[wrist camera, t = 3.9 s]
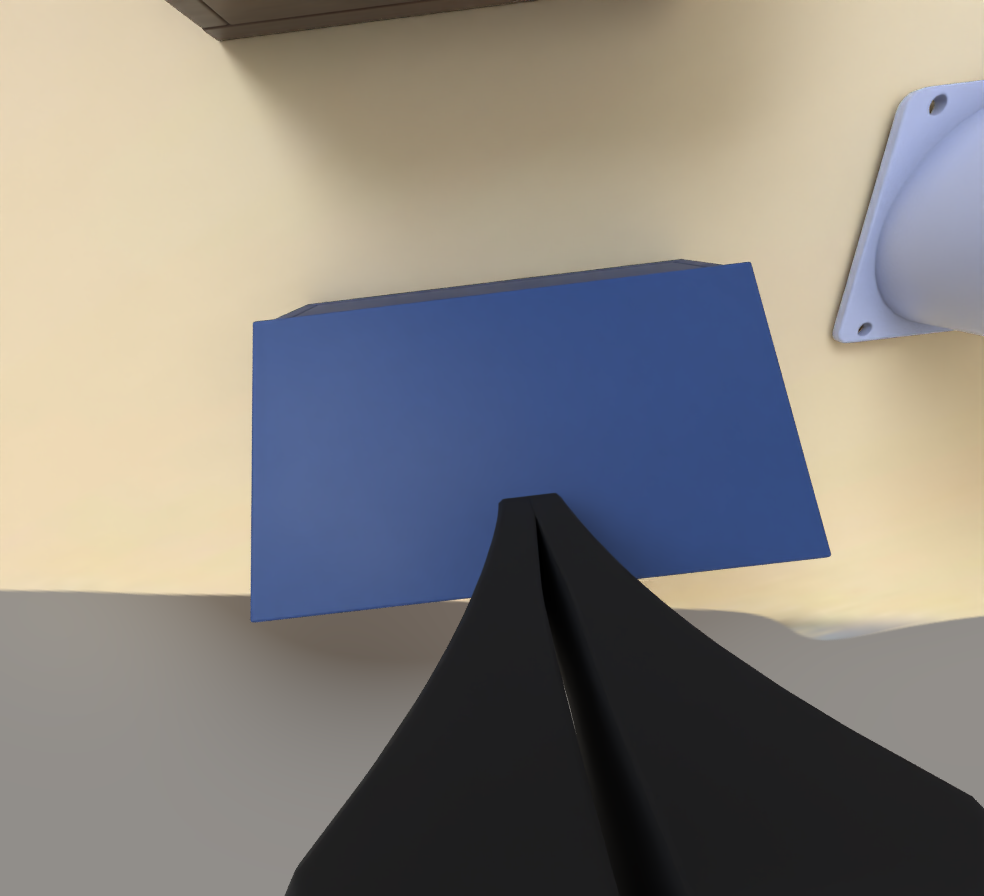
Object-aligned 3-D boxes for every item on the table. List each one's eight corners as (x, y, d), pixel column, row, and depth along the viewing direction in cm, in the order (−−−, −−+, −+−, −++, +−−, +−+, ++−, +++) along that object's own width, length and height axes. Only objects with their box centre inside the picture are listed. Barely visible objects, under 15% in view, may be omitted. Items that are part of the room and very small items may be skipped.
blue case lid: (815, 555, 10) (833, 557, 10) (263, 618, 10) (249, 623, 10) (739, 273, 12) (752, 260, 11) (264, 331, 12) (251, 320, 11)
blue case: (662, 440, 19) (702, 483, 16) (360, 476, 19) (337, 525, 16) (682, 258, 15) (738, 266, 12) (306, 304, 15) (263, 323, 12)
